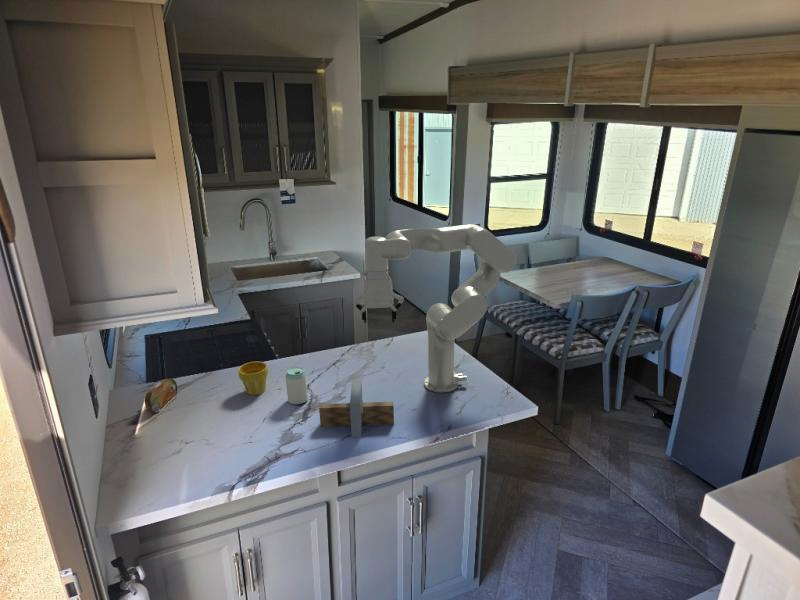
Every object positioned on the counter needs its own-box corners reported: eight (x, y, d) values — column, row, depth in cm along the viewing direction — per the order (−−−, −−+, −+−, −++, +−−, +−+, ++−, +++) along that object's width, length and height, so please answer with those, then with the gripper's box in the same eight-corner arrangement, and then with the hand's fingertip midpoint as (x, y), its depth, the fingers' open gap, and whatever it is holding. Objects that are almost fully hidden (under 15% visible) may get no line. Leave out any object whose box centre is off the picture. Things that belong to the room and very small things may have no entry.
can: (311, 396, 189) (308, 367, 185) (302, 406, 183) (299, 376, 179) (293, 394, 191) (290, 365, 187) (284, 404, 185) (281, 374, 181)
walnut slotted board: (393, 420, 174) (393, 401, 171) (394, 424, 171) (393, 405, 169) (321, 422, 173) (319, 404, 171) (320, 426, 171) (319, 408, 168)
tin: (153, 417, 179) (149, 395, 176) (145, 416, 180) (140, 394, 177) (179, 395, 193) (175, 374, 190) (172, 394, 193) (168, 374, 191)
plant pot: (236, 396, 191) (232, 372, 187) (250, 383, 200) (247, 359, 197) (261, 399, 188) (258, 375, 185) (274, 385, 198) (272, 362, 194)
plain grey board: (361, 437, 165) (359, 403, 161) (351, 437, 165) (349, 404, 161) (363, 410, 180) (361, 379, 176) (354, 410, 180) (352, 379, 176)
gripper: (350, 278, 171) (353, 326, 177) (403, 276, 172) (404, 324, 177) (352, 271, 178) (354, 318, 184) (402, 269, 179) (403, 316, 184)
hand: (379, 321), depth 181 cm, fingers open, 9 cm apart
